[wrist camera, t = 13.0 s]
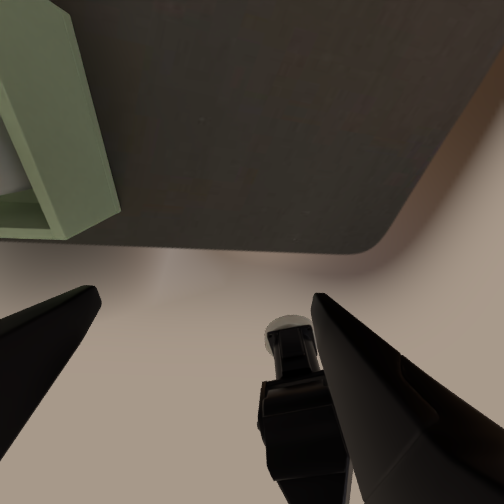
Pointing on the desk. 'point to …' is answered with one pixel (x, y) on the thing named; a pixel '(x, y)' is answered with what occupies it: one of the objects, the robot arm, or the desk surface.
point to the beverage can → (10, 165)
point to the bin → (50, 126)
